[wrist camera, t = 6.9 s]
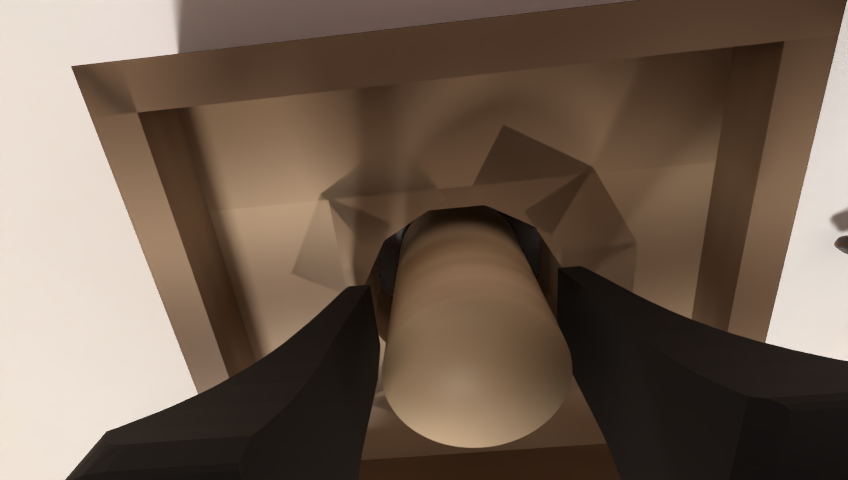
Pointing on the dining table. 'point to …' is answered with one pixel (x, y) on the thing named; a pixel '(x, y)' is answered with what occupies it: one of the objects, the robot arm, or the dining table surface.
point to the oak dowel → (471, 334)
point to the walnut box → (471, 177)
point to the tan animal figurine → (842, 244)
